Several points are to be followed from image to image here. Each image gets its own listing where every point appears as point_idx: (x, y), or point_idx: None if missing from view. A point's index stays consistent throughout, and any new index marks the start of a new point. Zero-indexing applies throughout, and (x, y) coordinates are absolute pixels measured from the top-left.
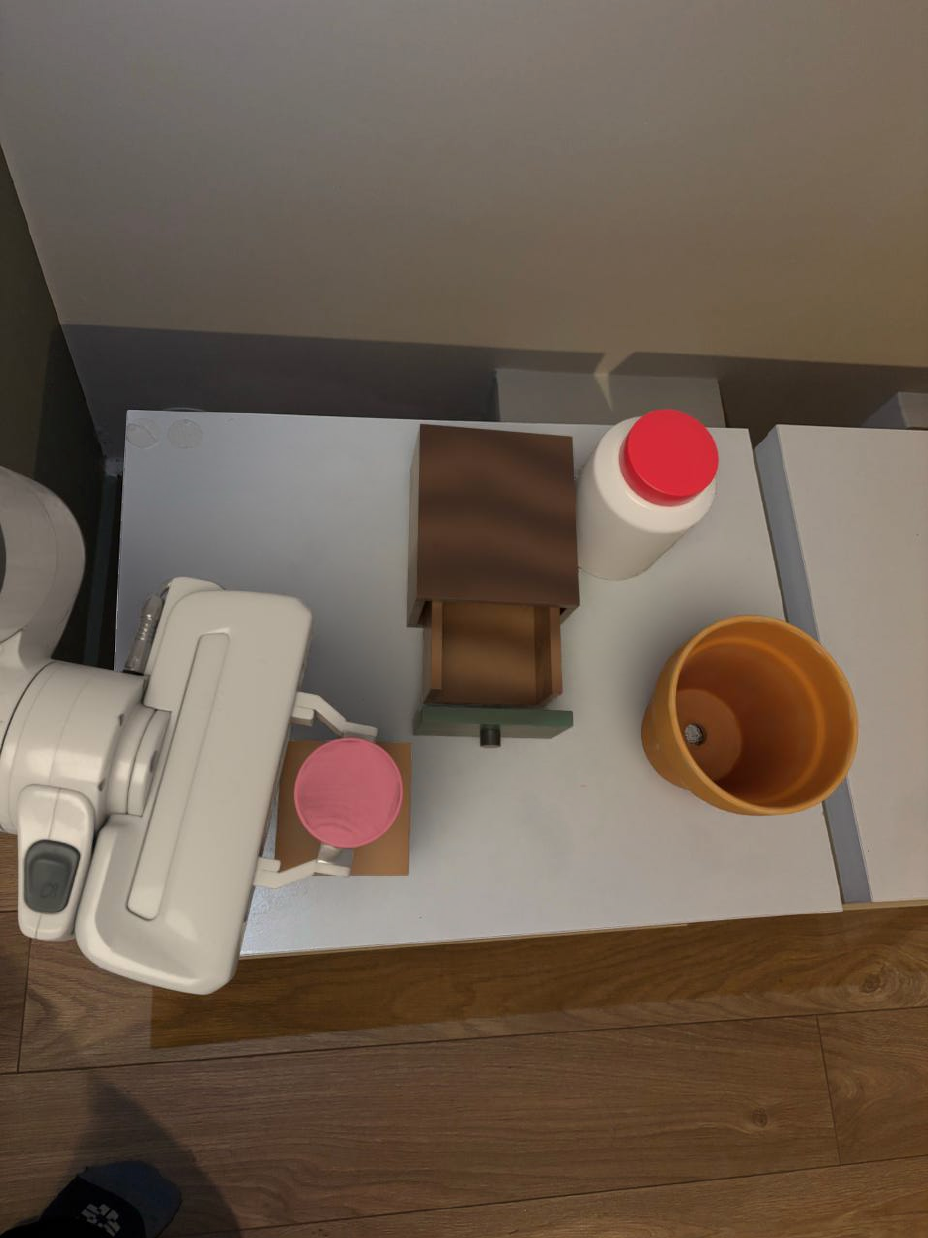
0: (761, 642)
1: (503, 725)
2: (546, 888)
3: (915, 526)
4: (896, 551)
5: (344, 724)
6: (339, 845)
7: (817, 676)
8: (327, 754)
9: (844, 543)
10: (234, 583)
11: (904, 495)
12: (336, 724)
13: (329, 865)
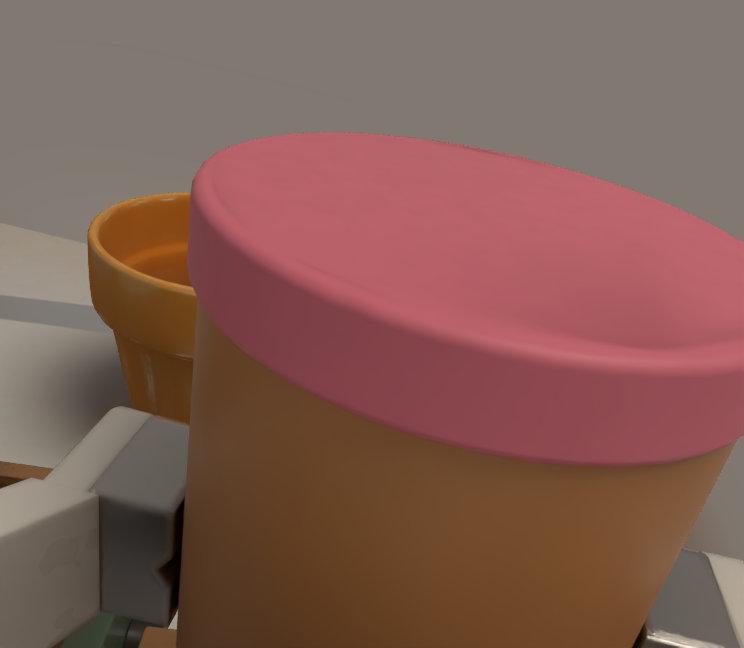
0: (131, 257)
1: None
2: None
3: (42, 234)
4: (61, 249)
5: (56, 483)
6: None
7: None
8: (283, 217)
9: (29, 272)
10: None
11: (3, 230)
12: (40, 509)
13: (733, 606)
